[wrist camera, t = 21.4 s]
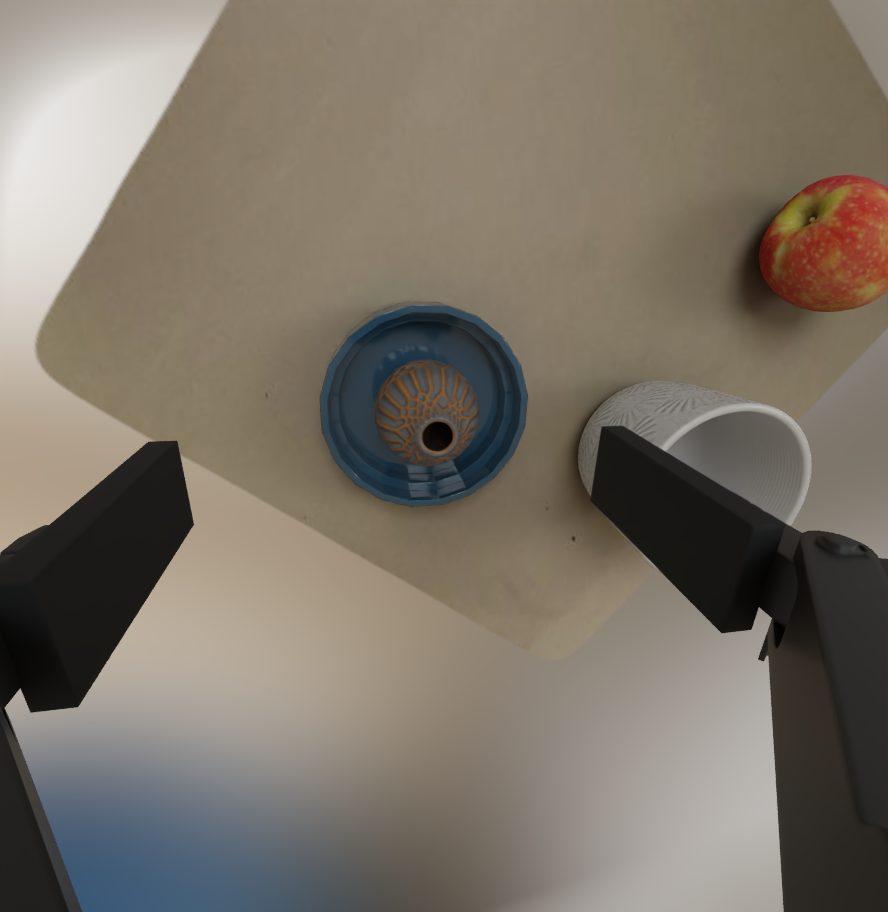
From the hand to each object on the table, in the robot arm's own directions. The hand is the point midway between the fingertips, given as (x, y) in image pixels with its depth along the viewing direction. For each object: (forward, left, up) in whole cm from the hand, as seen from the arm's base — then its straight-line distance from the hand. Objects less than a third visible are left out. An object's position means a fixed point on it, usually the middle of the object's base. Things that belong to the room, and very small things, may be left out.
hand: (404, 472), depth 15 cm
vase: (+3, +3, -21) cm, 21 cm away
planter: (+7, +21, -21) cm, 31 cm away
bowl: (+3, +3, -21) cm, 21 cm away
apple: (-8, +31, -21) cm, 38 cm away
